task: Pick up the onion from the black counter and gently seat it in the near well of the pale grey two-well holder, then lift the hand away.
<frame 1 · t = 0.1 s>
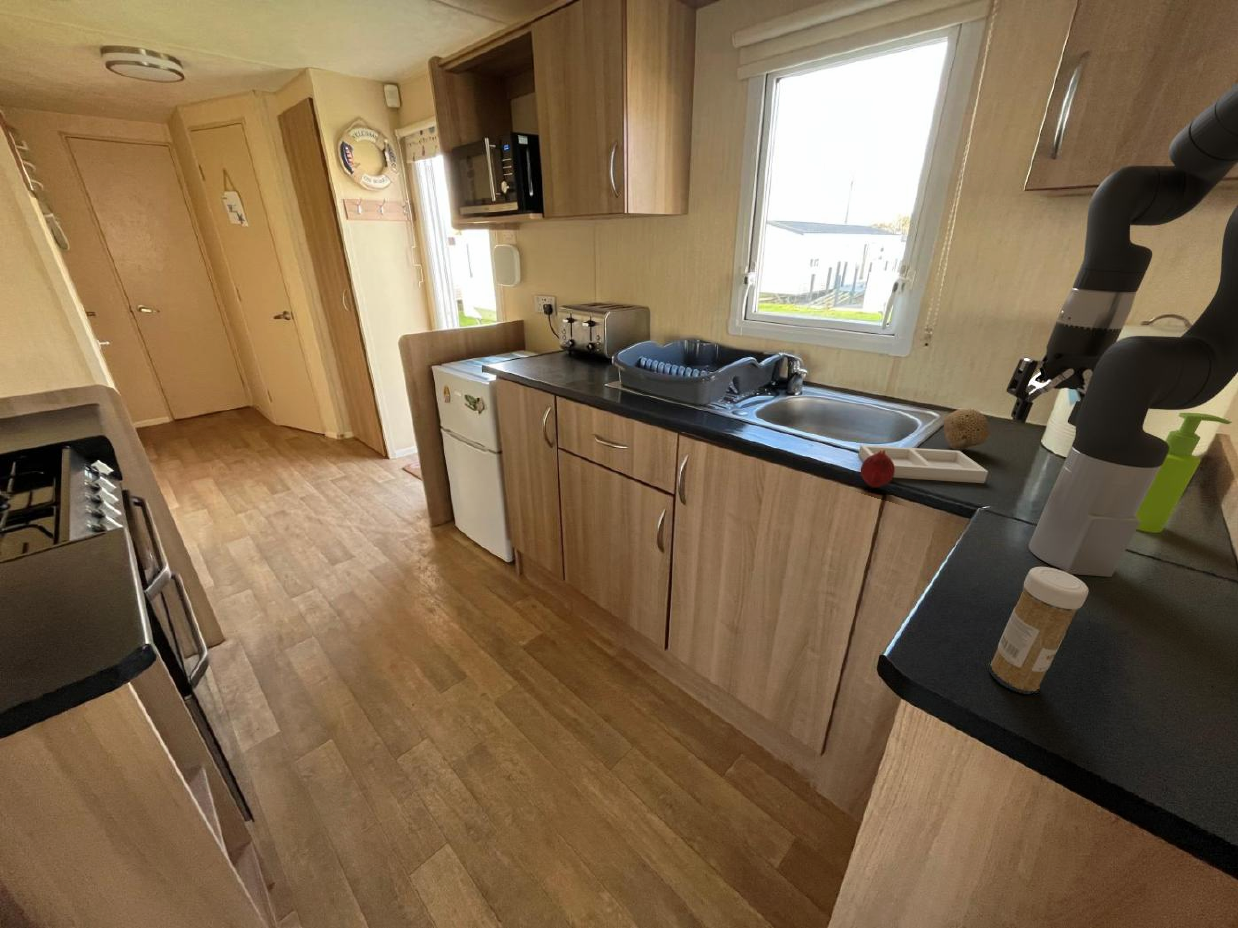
hand: (1045, 423, 79), 17 cm above the worktop, tool pointing down, fingers open, 8 cm apart
natural sponge: (959, 450, 115), on the worktop
well holder: (917, 468, 104), on the worktop
onion: (872, 488, 95), on the worktop
soap dispenser: (1141, 525, 84), on the worktop
sprinkles bottle: (1010, 680, 53), on the worktop
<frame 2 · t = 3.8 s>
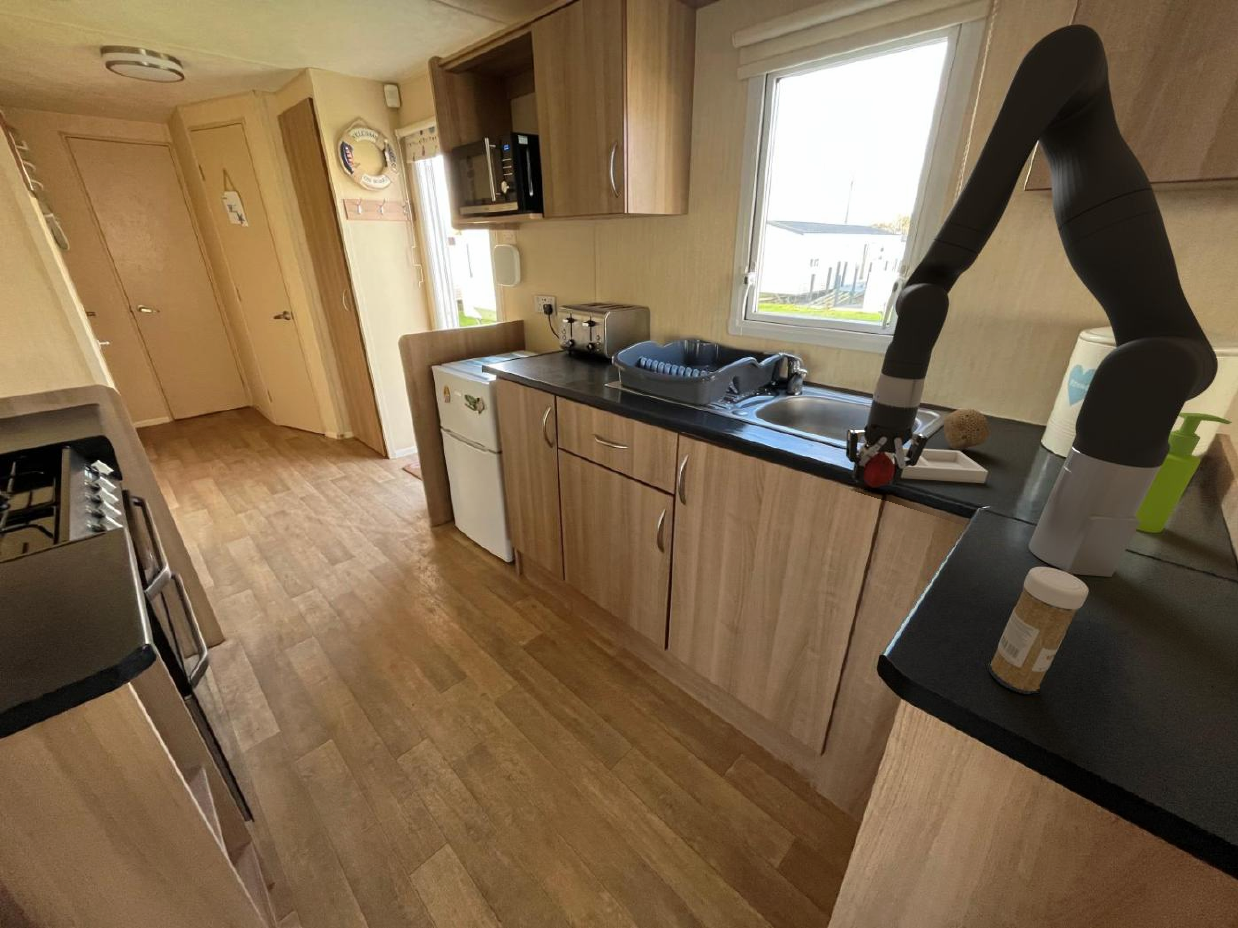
hand: (874, 482, 95), 1 cm above the worktop, tool pointing down, fingers closed on onion, 5 cm apart
onion: (872, 488, 95), on the worktop, touching gripper
everything else where it was.
when the fingers open (3 cm above the worktop, at t = 10.3 s): onion drops 1 cm, resting on well holder.
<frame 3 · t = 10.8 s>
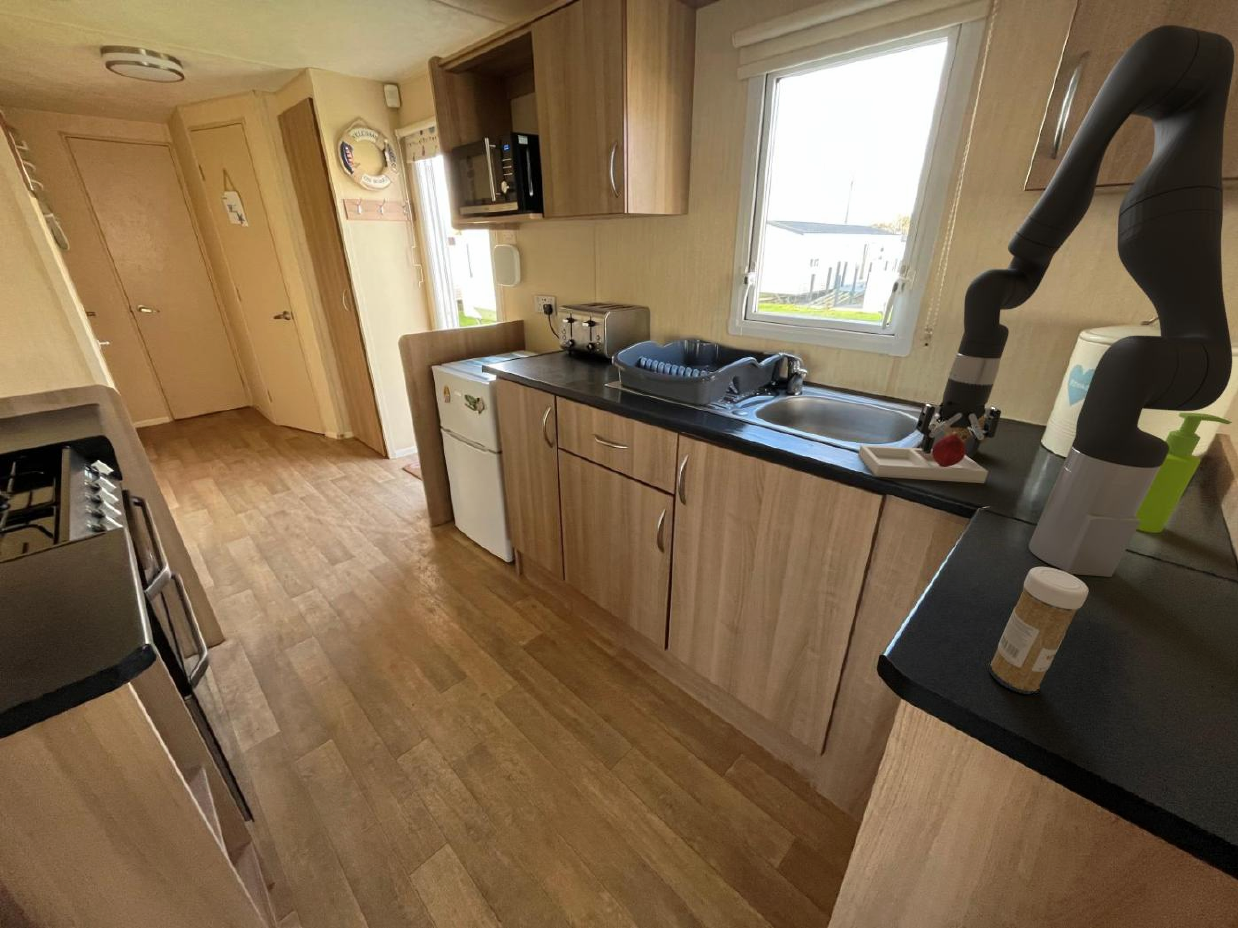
hand: (947, 453, 102), 4 cm above the worktop, tool pointing down, fingers open, 8 cm apart
onion: (942, 468, 103), resting on well holder
everything else where it was.
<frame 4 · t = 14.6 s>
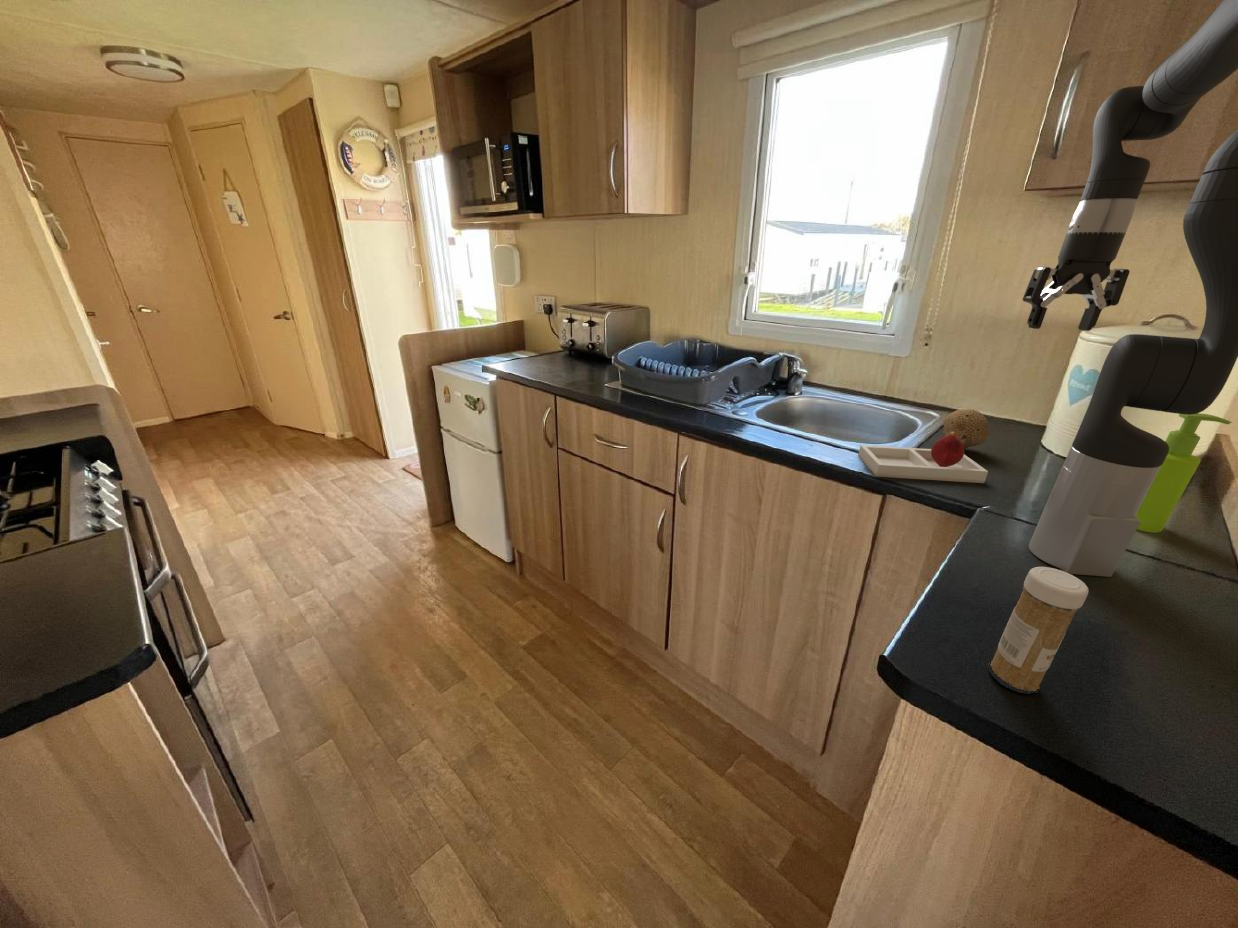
hand: (1058, 329, 89), 30 cm above the worktop, tool pointing down, fingers open, 8 cm apart
nothing on the worktop moved.
at the end: onion 0.1 cm from the target spot on the well holder, point 0.4 cm above the well holder's base; the gripper is holding nothing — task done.
